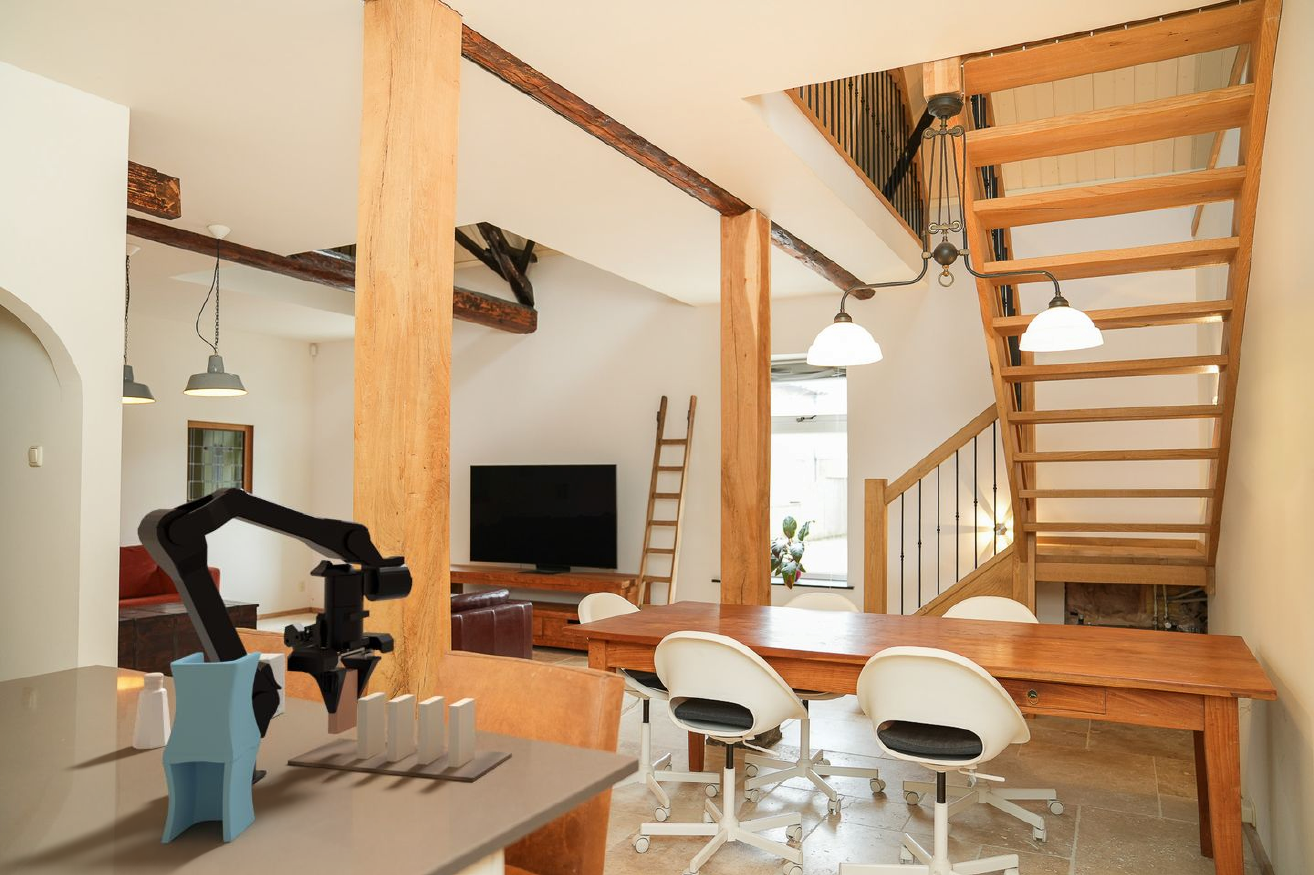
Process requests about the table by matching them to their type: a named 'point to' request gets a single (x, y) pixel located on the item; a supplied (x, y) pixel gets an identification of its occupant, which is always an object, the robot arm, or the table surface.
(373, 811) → the table surface
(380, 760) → the walnut board
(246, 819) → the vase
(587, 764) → the table surface
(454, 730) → the domino
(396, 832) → the table surface
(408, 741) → the domino
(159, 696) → the pepper shaker
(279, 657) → the small box
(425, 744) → the domino
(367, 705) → the domino
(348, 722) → the terracotta domino
